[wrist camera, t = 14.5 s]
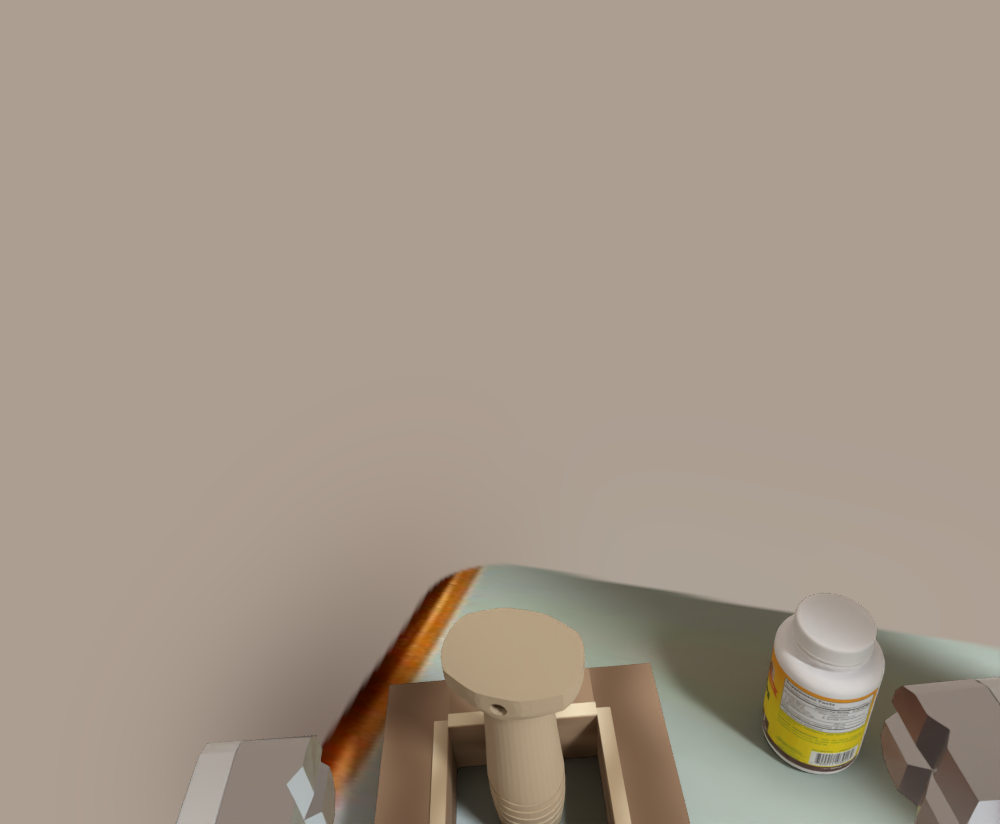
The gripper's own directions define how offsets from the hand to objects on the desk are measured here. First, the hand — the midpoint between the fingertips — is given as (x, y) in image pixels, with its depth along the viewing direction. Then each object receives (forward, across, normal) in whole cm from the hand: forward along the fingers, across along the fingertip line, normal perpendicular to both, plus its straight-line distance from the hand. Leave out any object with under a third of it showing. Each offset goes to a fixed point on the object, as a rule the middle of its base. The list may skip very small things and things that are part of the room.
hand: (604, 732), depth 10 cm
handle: (+15, +2, +32) cm, 36 cm away
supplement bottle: (+19, -15, +32) cm, 40 cm away
